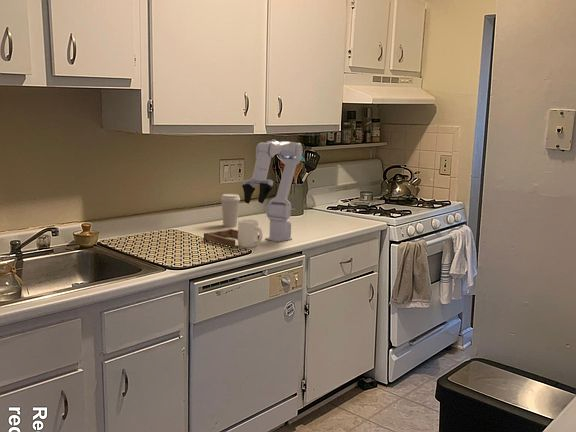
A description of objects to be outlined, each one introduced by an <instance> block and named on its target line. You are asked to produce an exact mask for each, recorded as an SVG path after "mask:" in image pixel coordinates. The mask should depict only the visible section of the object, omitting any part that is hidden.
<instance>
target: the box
mask: <svg viewBox="0 0 576 432" xmlns="http://www.w3.org/2000/svg"><path fill="white" fill-rule="evenodd" d="M230 237H231V238H230ZM232 238H237V239H238V229H234V228H228V229H223V230H221V229H220V230H216V231H210V232H209V231H208V232H204V233H203V241H205V240H207V241H206V242H208V241H211V242H210V243H212V242H215V243H214V244H216V243H219V244H218V245H220V244H223V245H222V246H224V245H227V246H226V247H228V246H230V247H229V248H231V247H234V248H236V239H232ZM258 239H259V234H258Z"/></svg>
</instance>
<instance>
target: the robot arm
mask: <svg viewBox="0 0 576 432" xmlns="http://www.w3.org/2000/svg"><path fill="white" fill-rule="evenodd" d="M275 155H279V156H278V157H279V158H280V162H281V163H282V164H284V167H283V170H282V174H281V178H280V182H279V185H278V188H277V193H276V196H275V197H273V198H271V199H269V203H268V205H267V206H266V207H265V208H266V209H265V214H266V217H267V218H268V220H269V236H267V237H265V238H264V239H265V240H267V241H273V242H276V243H279V242H280V243H281V242H284V241H290V240H293V238H292V224H291V221H290V218H291V214H292V203H291V202H290V201H289V200H288V197H289V195H290V190H291V186H292V183H293V179H294V175H295V171H296V168H297V165H299V164H300V163H301V159H302V157H303V144H301V142H293V141H282V140H281V141H277V139H271V140H267V141H266V142H263V141H261V142H259V143H258V144H257V145H256V146H255V164H254V168H253V172H252V177H250V178H249V179H246V180H244V181H243V184H242V189H243V193H244V194H243V195H244V196H243V198H244V203H246V204H247V205H248V204H250V202H251V200H252V199H251V198H252V196H253V194H254V192H255V191H256V188H255V187H258V186H259V195H258V201H257V202H258V203H259V204H264V202H265V200H266V198H267V196H268V195H269V193H270V192H271V191H272V190H273V188H272V186H274V181H273V180H272V179H267V177H268V174H269V171H270V170H269V169H270V165H271V161H272V158H274V157H275Z"/></svg>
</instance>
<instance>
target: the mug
mask: <svg viewBox="0 0 576 432" xmlns="http://www.w3.org/2000/svg"><path fill="white" fill-rule="evenodd" d="M237 230H238V238H237V245H238V246H239V247H241V248H255V247H257V246H258V244H260V243H261V242H262V240H263V236H264V235H263V231H262V229H261V227H260V226H259V221H258V219H251V218H250V219H249V218H246V219H244V218H243V219H240V220H237ZM258 235H259V239H258Z"/></svg>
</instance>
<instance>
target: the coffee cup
mask: <svg viewBox="0 0 576 432" xmlns="http://www.w3.org/2000/svg"><path fill="white" fill-rule="evenodd" d="M220 200H221V210H222V225H223V227H226V228H233V227H234V228H235V227H238V218H239V208H240V207H239V206H240V201H241V198H240V195H239V194H237V193H224V194H222V196H221V197H220Z"/></svg>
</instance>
